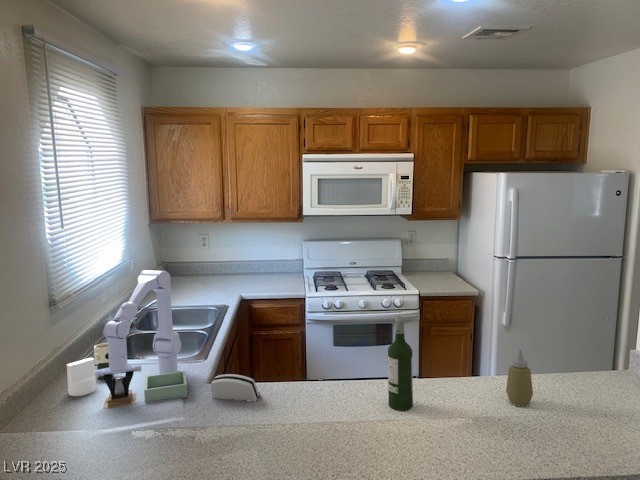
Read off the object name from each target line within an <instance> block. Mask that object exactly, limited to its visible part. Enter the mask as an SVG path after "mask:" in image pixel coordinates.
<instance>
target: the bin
mask: <svg viewBox="0 0 640 480" xmlns="http://www.w3.org/2000/svg"><path fill="white" fill-rule="evenodd" d="M143 391H144V402H145V403H146V402H153V401H160V400H165V399H171V398H172V399H173V398H179V397H181V399H182V400H183V399H188V383H187V377H186V371H185V370H183V371H179V372H173V373H166V374H159V375H158V374H152V375H146V376H145V380H144V390H143Z"/></svg>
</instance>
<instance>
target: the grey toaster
mask: <svg viewBox="0 0 640 480" xmlns="http://www.w3.org/2000/svg"><path fill="white" fill-rule="evenodd" d="M210 390H211V398H212V399H219V400H220V399H221V400H229V399H231V400H232V399H234V400H232V401H241V400H249V401H248V402H253V401H256V400H257V401H258V397H259V398H260V396H261V392H260V391H258V390H259V389H258V387H257V384H256V381H255V380H254V379H253V378H251V377H248V376H247V375H246V376H245V375H240V374H233V373H232V374H231V373H226V374H218V375H217V376H215V377H214V378H213V380H212V381H211V384H210ZM259 395H260V396H259ZM231 400H230V401H231ZM250 400H251V401H250ZM257 401H256V402H257Z"/></svg>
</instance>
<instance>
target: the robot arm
mask: <svg viewBox="0 0 640 480" xmlns="http://www.w3.org/2000/svg"><path fill="white" fill-rule="evenodd" d="M171 287H172V285H171V274H170V273H169V272H168V271H166V270H147V269H144V270H142V271H141V272H140V274H139V276H138V277H137V285H136V287H135V289H134V290H133V292H132V294H131V296H130V298H129V299H128V301H127V302H124V303H122V304H121V305H120V308H119V309H118V310H117V312H116V314H115V315H114V317H113V318H112V320H110V321H108V322H106V323H105V325H104V328H103V330H102V333H103V336H104V337H105V340H106V342H105V343H108V353H109V368H104V369H100V370H97V369H95V378H98V377H99V376H104V378H103V381H104V383H105V384H106V386H107V388H108V390H109V394H110V393H111V396H114V392H113V378H114V375H119V374H125V375H124V376H125V379H126V394H128V393H129V390H130V384H131V382H132V379H133V376H134V373H135V372H137V373H138V372H139V373H140V372H142V364H128V349H127V347H128V346H127V336H128V335H129V334H130V331H131V330H130V329H131V325H132V322H133V320H134V318H135V317H136V315H137V313H138V312H139V308H138V306H139V304H141V302H142V300H143V299H144V298H145V297H146V295H147V294H148V293H149V291H153V292H155V294H156V295H155V296H156V310H157V313H156V314H157V324H158V325H157V326H158V327H157V328H158V329H157V330H158V331H157V333H155V334H154V336H153V341H152V349H153V351H154V353H155V355H156V356H157V359H158V360H157V362H158V366H157V367H158V372H159V374H166V373H173V372H178V369H179V368H178V354H179V353H180V351H181V349H182V341H181V338H180V334H179V333H178V332H177V331H175V329H174V328H173V327H174V326H173V311H172V293H171V289H172V288H171ZM113 374H114V375H113Z"/></svg>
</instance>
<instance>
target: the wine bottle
mask: <svg viewBox="0 0 640 480" xmlns="http://www.w3.org/2000/svg"><path fill="white" fill-rule="evenodd" d="M394 319H395V333H394V337H395V338H394V341H393V342H392V343H391V344H389V346H388V349H387V380H388V381H387V382H388V383H387V385H388V386H387V387H388V391H387V392H388V394H387V395H388V397H387V398H388V399H387V400H388V406H390V407H389V408H390V409H392V410H393V409H394V411H397V410H398V411H397V412H406V410H407V411H409V409H410V410H411V409H413V406H414V405H413V403H414V396H413V395H414V394H413V393H414V389H413V388H414V387H413V385H414V384H413V383H414V381H413V349H412V347H411V346H410V344H409V343H408V342H407V341H406V339H405V318H404V316H403V315H396V316H395V318H394Z"/></svg>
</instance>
